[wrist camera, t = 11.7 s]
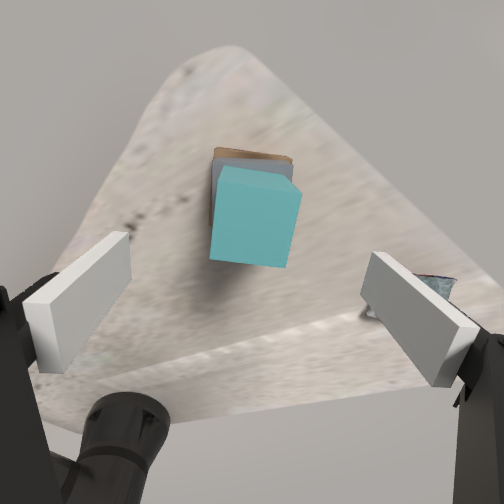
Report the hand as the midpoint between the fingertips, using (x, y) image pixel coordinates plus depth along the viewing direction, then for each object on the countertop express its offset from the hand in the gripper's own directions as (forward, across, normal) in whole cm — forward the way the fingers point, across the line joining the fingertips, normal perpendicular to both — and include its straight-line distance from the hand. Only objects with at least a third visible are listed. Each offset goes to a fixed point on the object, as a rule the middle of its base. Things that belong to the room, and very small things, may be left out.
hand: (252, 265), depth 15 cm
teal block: (+15, 0, 0) cm, 15 cm away
